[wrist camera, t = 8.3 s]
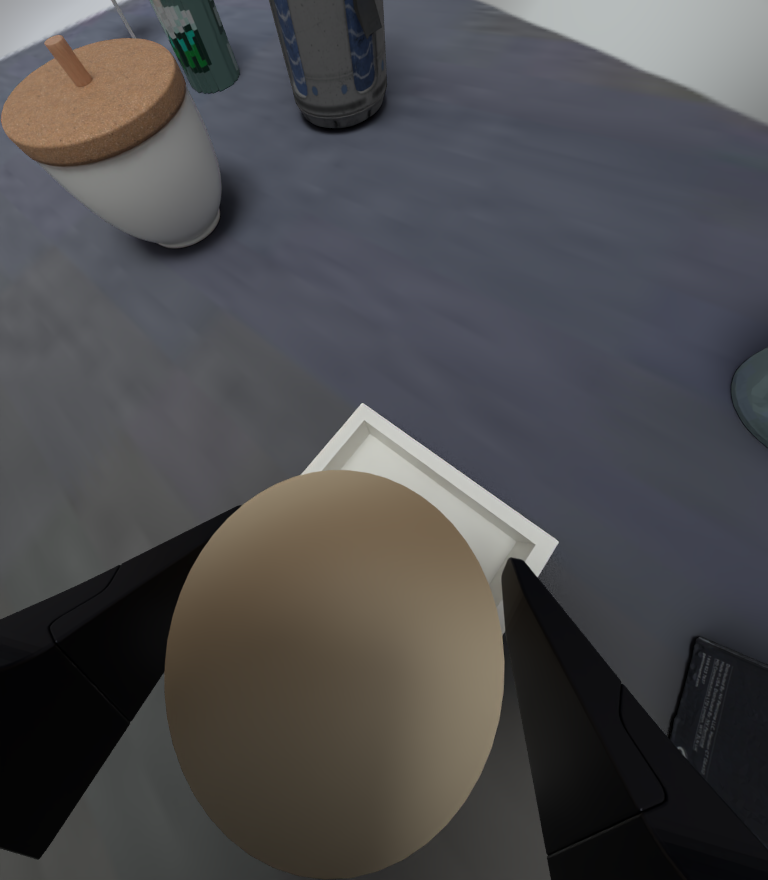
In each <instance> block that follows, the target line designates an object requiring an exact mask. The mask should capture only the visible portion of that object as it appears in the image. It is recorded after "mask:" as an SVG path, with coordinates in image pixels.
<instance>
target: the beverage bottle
mask: <svg viewBox="0 0 768 880" xmlns="http://www.w3.org/2000/svg"><path fill="white" fill-rule="evenodd" d="M269 3H270V6H271V10H272V14H273V18H274V21H275V25H276V29H277V33H278V37H279V40H280V44H281V48H282V52H283V56H284V59H285V63H286V67H287V71H288V74H289V78H290V82H291V86H292V90H293V93H294V97H295V101H296V104H297V106H298V107H299V109H300V110H301V112H302V113H303V115H304V116H305V118H306V119H307V120H308V121H311V123H313V124H315V125H317V126H321V127H326V128H345V127H349V126H353V125H356V124H358V123H360V122H362V121H364V120H366V119H367V118H368V117H371V116H372V115H373V114H375V112H376V111H377V110H378V109H379V108H380V106H381V104H382V102H383V98H384V94H385V91H386V87H387V75H386V54H385V33H384V11H383V0H269Z"/></svg>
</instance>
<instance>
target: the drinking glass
mask: <svg viewBox="0 0 768 880" xmlns="http://www.w3.org/2000/svg"><path fill="white" fill-rule="evenodd" d="M731 394H732V400H733V404H734V407H735V409H736V411H737V413H738V415H739V417H740V419H741V420H742V422H743V423H744V425H745V426H746V427H747V429H748V430H749V431H750V432H751V433H752V434H753V435H754V436H755V437H756V438H757V439H758V440H759V441H760V442H761V443H763V444H764V445H765V446H767V447H768V347H767V348H765V349H764V350H762V351H760V352H758V353H756V354H755V355H753V356H752V357H750V358H749V359H748V360H746V361H745V362H744V363H743V364H742V365H741V366H740V367H739V368H738V370H737V371H736V373H735V375H734V377H733V381H732V385H731Z"/></svg>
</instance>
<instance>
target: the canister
mask: <svg viewBox="0 0 768 880" xmlns="http://www.w3.org/2000/svg"><path fill="white" fill-rule="evenodd" d="M503 692H504V651H503V640H502V632H501V627H500V622H499V617H498V612H497V608H496V605H495V601H494V598H493V595H492V592H491V589H490V586H489V583H488V581H487V579H486V577H485V574H484V572H483V570H482V568H481V566H480V563H479V561H478V560H477V558H476V556H475V555H474V553H473V551H472V550H471V548H470V546H469V545H468V543H467V542H466V540H465V539H464V538H463V536H462V535H461V534H460V533H459V531H458V530H457V529H456V527H455V526H454V525H453V524H452V523H451V522H450V521H449V520H448V519H447V518H446V517H445V516H444V515H443V514H442V513H441V512H440V511H439V510H438V509H437V508H436V507H435V506H434V505H432V504H431V503H430V502H428V501H427V500H426V499H425V498H423V497H422V496H421V495H419V494H417V493H416V492H414V491H412V490H411V489H409V488H407V487H405V486H404V485H401V484H399V483H397V482H394V481H392V480H390V479H387V478H384V477H381V476H377V475H374V474H370V473H365V472H358V471H351V470H327V471H319V472H312V473H308V474H304V475H300V476H296V477H293V478H290V479H288V480H285V481H283V482H280V483H278V484H275V485H274V486H272V487H270V488H268V489H266V490H264V491H263V492H261V493H259V494H258V495H256V496H255V497H253V498H252V499H250V500H249V501H248V502H246V503H245V504H243V505H242V506H241V507H240V508H239V509H238V510H237V511H236V512H234V513H233V514H232V515H231V516H230V517H229V518H228V519H227V520H226V521H225V522H224V523H223V524H222V525H221V527H220V528H219V529H218V530H217V531H216V532H215V533H214V534H213V536H212V537H211V539H210V540H209V541H208V543H207V544H206V545H205V547H204V548H203V550H202V551H201V553H200V554H199V556H198V558H197V560H196V561H195V563H194V565H193V567H192V568H191V570H190V572H189V574H188V576H187V579H186V581H185V583H184V585H183V588H182V590H181V592H180V595H179V598H178V601H177V604H176V607H175V610H174V614H173V617H172V622H171V626H170V631H169V635H168V640H167V649H166V658H165V701H166V711H167V720H168V724H169V729H170V733H171V738H172V742H173V746H174V749H175V752H176V755H177V758H178V760H179V763H180V766H181V769H182V772H183V774H184V776H185V778H186V780H187V782H188V784H189V786H190V788H191V790H192V792H193V794H194V796H195V797H196V799H197V800H198V802H199V803H200V804H201V806H202V807H203V809H204V810H205V812H206V813H207V815H208V816H209V818H210V819H211V820H212V821H213V822H214V823H215V824H216V825H217V826H218V828H219V829H220V830H221V831H222V832H223V833H224V834H225V835H226V836H227V837H228V838H229V839H230V840H231V841H233V842H234V843H235V844H236V845H238V846H239V847H240V848H241V849H243V850H244V851H245V852H246V853H248V854H249V855H251V856H253V857H254V858H256V859H258V860H260V861H262V862H264V863H265V864H267V865H269V866H271V867H273V868H276V869H279V870H282V871H285V872H288V873H291V874H294V875H297V876H302V877H310V878H317V879H342V878H353V877H357V876H361V875H365V874H369V873H373V872H377V871H380V870H382V869H384V868H386V867H389V866H391V865H393V864H395V863H397V862H400V861H402V860H404V859H405V858H407V857H408V856H410V855H411V854H413V853H414V852H416V851H417V850H418V849H420V848H421V847H423V846H424V845H426V844H427V843H428V842H429V841H430V840H431V839H432V838H433V837H434V836H436V835H437V834H438V833H439V832H440V831H441V830H442V829H443V828H444V827H445V826H446V825H447V824H448V823H449V822H450V820H451V819H452V818H453V817H454V815H455V814H456V813H457V811H458V810H459V809H460V808H461V806H462V805H463V804H464V802H465V801H466V799H467V798H468V796H469V794H470V793H471V791H472V789H473V787H474V786H475V784H476V782H477V780H478V779H479V777H480V775H481V773H482V770H483V768H484V765H485V763H486V761H487V758H488V756H489V753H490V751H491V748H492V745H493V741H494V738H495V734H496V730H497V727H498V723H499V719H500V712H501V705H502V698H503Z"/></svg>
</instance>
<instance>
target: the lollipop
mask: <svg viewBox="0 0 768 880" xmlns="http://www.w3.org/2000/svg"><path fill="white" fill-rule="evenodd" d="M111 1H112V2H113V4H114V6H115V8H116V10H117V11H118V13H119V15H120V17H121V19H122V20H123V22H124V24H125V26H126V27H127V29H128V31H129V33H130V34H131V36H132V38H134V39H137V38H136V37H135V35H134V33H133V31H132V29H131V28H130V26H129V24H128V22H127V20H126V19H125V17H124V15H123V13H122V12H121V10H120V8H119V6H118V4H117V3H116V1H115V0H111Z"/></svg>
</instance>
